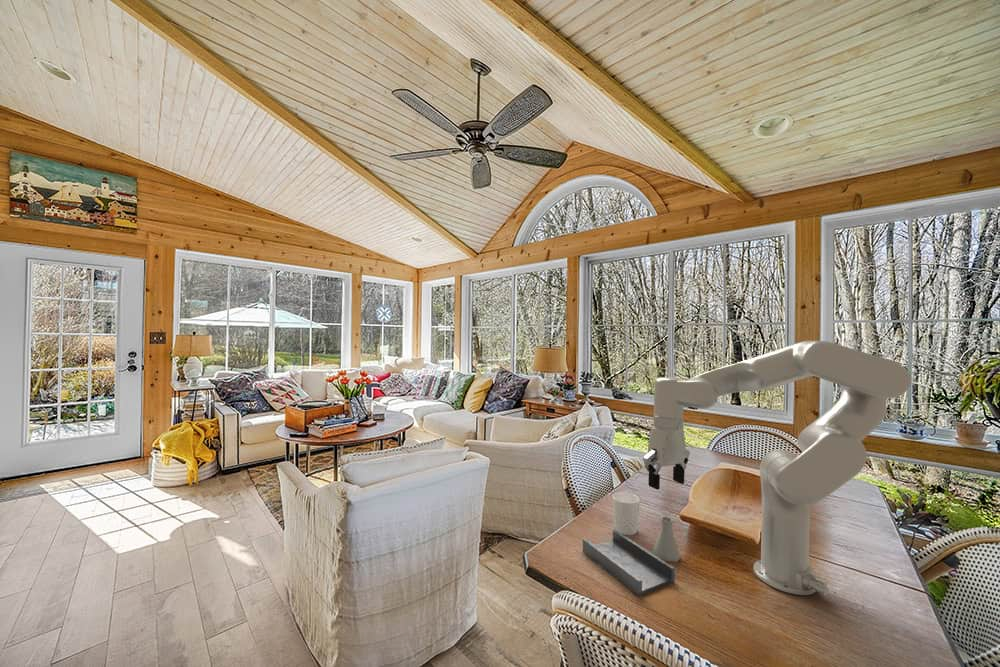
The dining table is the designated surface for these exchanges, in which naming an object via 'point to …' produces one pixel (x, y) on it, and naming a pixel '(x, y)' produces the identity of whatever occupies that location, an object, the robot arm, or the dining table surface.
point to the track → (630, 564)
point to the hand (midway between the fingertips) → (666, 484)
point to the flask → (666, 542)
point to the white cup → (626, 513)
